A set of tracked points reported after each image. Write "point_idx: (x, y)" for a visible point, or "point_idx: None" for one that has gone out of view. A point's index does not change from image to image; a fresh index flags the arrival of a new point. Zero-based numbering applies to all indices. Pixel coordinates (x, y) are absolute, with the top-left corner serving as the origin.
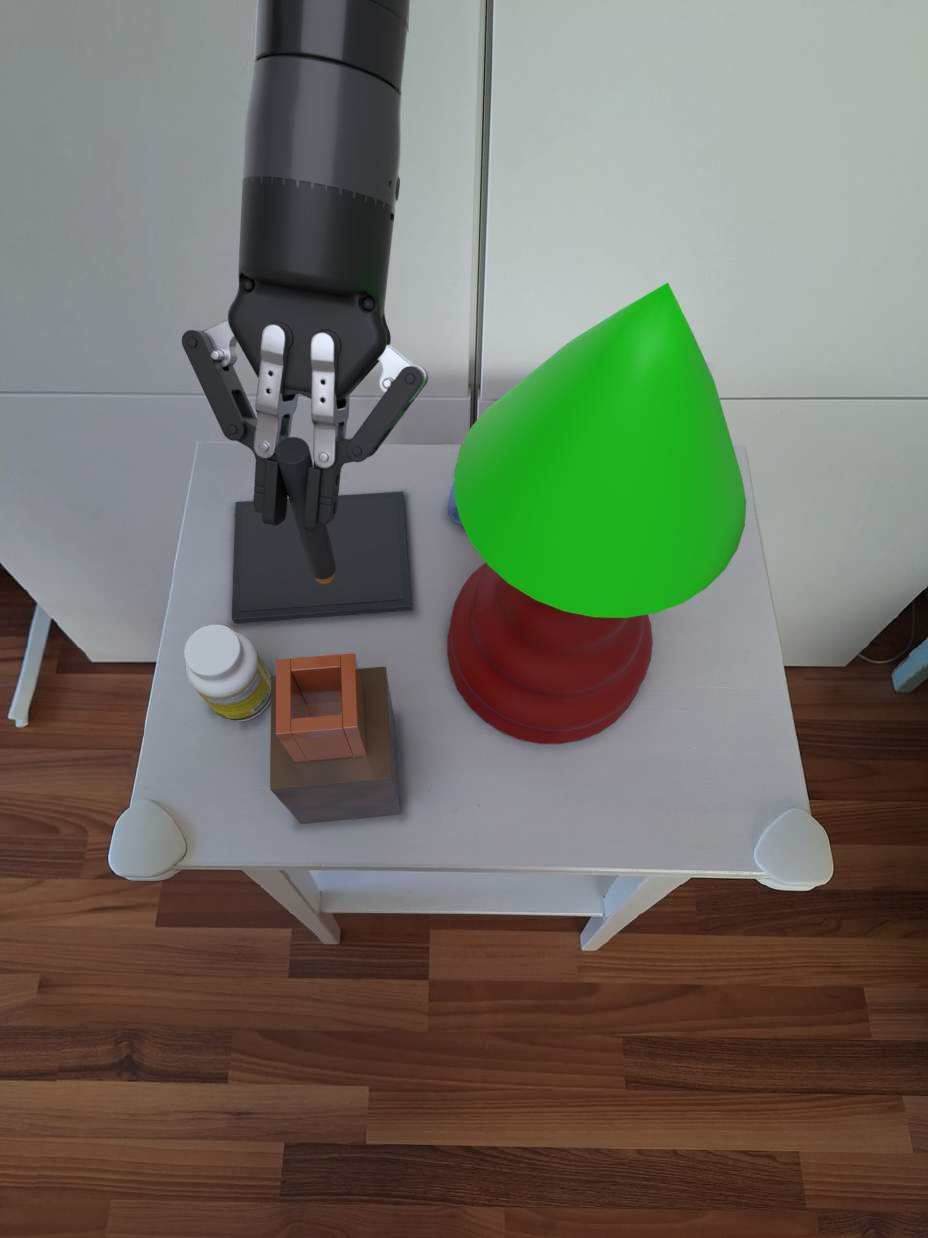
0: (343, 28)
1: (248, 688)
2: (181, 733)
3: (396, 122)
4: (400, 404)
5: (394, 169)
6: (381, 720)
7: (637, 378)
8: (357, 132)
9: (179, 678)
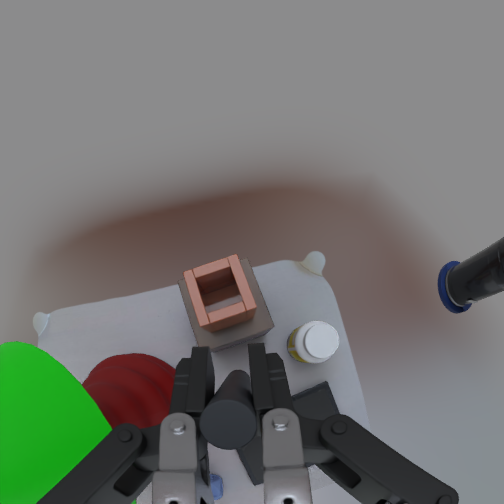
0: None
1: (295, 334)
2: (326, 312)
3: None
4: (60, 488)
5: None
6: (192, 315)
7: None
8: None
9: (340, 340)
